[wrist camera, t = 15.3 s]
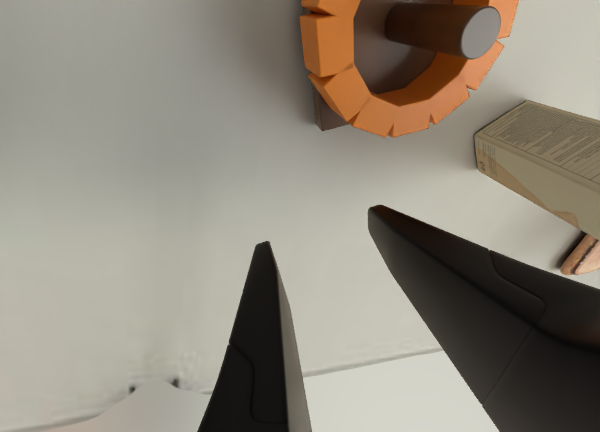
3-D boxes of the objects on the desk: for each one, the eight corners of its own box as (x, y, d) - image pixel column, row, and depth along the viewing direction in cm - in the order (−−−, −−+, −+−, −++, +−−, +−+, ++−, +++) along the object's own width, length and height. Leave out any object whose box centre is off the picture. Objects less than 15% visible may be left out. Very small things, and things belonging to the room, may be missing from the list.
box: (476, 171, 26) (611, 256, 18) (472, 133, 24) (629, 210, 15) (530, 138, 26) (696, 209, 17) (532, 95, 23) (731, 154, 14)
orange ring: (312, 138, 19) (326, 155, 17) (285, -105, 12) (303, -125, 10) (459, 101, 20) (488, 113, 18) (507, -134, 13) (562, -156, 11)
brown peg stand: (316, 125, 19) (363, 176, 14) (291, -88, 13) (360, -148, 8) (449, 90, 21) (541, 125, 15) (485, -119, 14) (664, -190, 9)
